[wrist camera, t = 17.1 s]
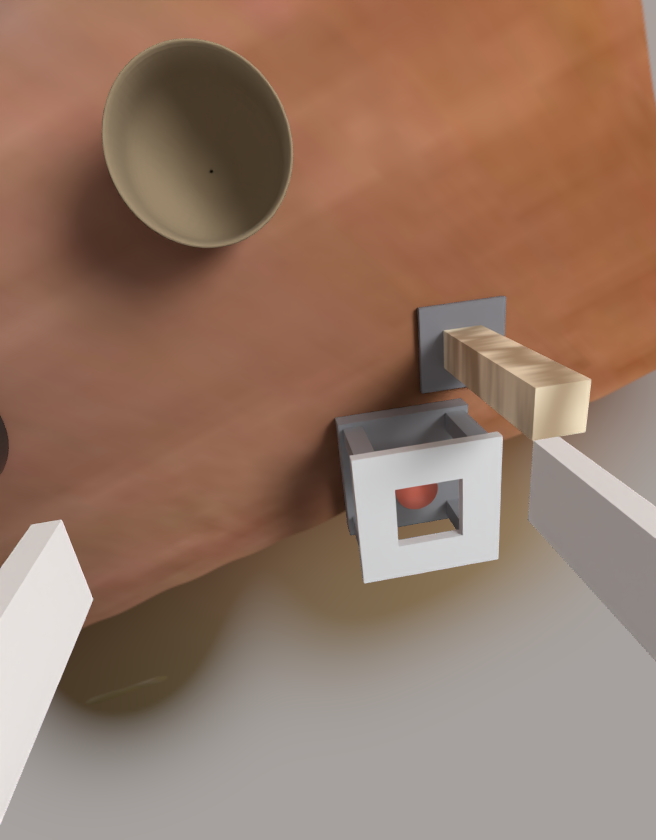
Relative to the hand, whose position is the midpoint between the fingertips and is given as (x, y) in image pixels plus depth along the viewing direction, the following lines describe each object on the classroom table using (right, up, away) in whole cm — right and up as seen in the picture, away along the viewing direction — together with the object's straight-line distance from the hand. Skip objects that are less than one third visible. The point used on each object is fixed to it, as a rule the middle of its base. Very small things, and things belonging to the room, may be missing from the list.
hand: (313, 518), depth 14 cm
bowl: (-10, +25, +28) cm, 39 cm away
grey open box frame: (+9, -2, +42) cm, 43 cm away
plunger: (+9, -2, +41) cm, 42 cm away
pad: (+14, +11, +37) cm, 41 cm away
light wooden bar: (+14, +10, +37) cm, 41 cm away
